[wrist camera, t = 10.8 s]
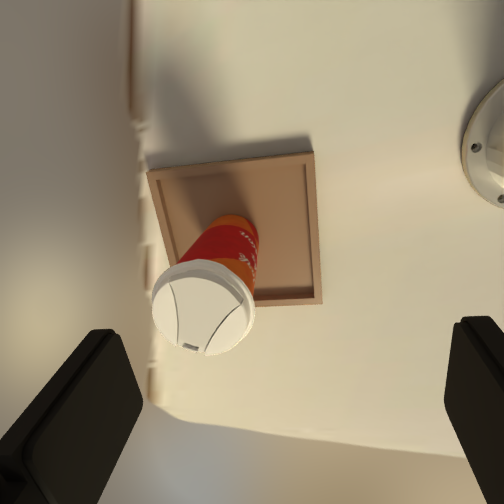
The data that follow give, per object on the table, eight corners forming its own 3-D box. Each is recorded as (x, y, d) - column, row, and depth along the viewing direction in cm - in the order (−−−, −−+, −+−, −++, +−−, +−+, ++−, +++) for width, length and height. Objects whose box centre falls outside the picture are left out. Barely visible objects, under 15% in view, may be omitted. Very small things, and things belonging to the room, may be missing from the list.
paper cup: (257, 279, 39) (237, 373, 26) (190, 259, 39) (138, 342, 26) (279, 216, 35) (267, 288, 23) (206, 192, 35) (154, 253, 23)
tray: (313, 151, 33) (314, 153, 32) (321, 297, 40) (322, 304, 38) (151, 169, 35) (145, 172, 34) (184, 303, 42) (181, 310, 41)
